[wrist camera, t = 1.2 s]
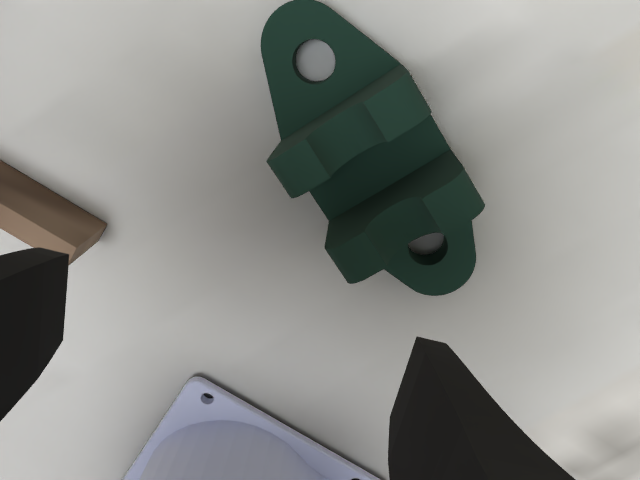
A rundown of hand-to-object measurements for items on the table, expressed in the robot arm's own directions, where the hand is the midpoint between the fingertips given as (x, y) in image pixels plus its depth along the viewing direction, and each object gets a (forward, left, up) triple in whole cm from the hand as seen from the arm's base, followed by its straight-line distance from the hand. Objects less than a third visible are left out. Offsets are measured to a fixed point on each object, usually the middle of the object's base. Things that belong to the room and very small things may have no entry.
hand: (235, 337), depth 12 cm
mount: (-1, -3, -10) cm, 11 cm away
